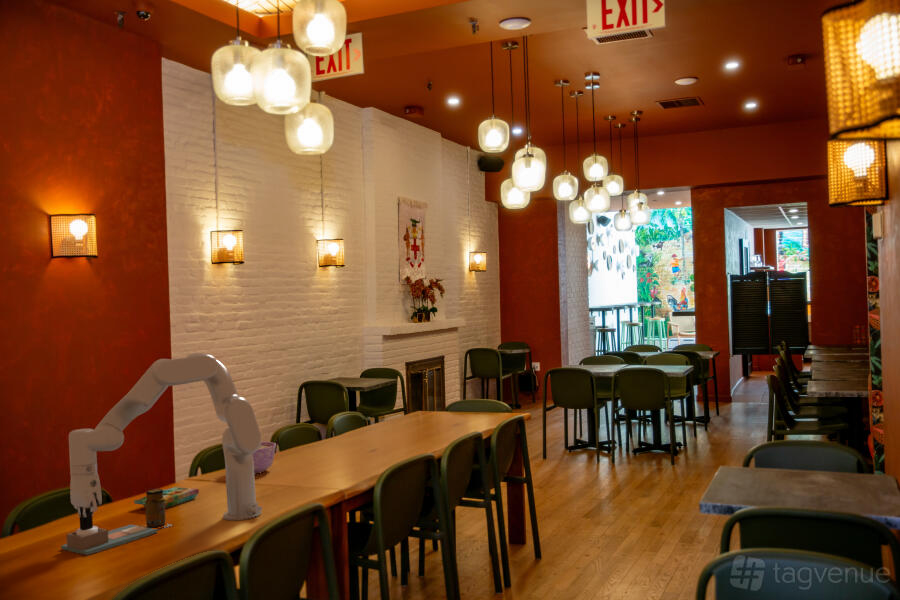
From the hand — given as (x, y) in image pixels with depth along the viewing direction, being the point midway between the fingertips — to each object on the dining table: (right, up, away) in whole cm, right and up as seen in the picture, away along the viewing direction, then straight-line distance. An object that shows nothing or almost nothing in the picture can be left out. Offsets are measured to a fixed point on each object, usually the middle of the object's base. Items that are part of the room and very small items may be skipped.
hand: (86, 528), depth 236 cm
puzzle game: (+6, -6, +51) cm, 51 cm away
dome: (0, -3, 0) cm, 3 cm away
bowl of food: (+27, -5, +98) cm, 102 cm away
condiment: (+14, -6, +21) cm, 25 cm away
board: (+5, -6, +6) cm, 10 cm away
